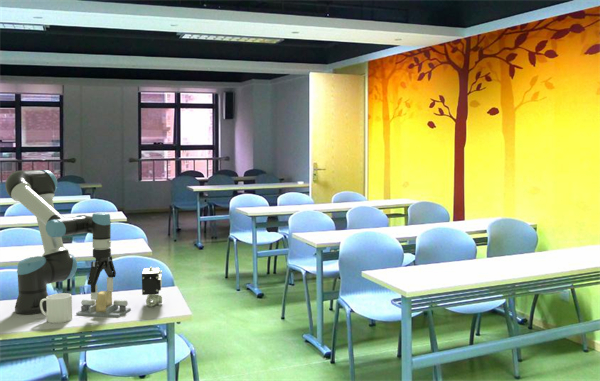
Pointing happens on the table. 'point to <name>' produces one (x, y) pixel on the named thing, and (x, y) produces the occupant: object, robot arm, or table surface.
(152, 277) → the ball valve
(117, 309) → the shaft rig
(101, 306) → the coupling block
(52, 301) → the mug
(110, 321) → the table surface
